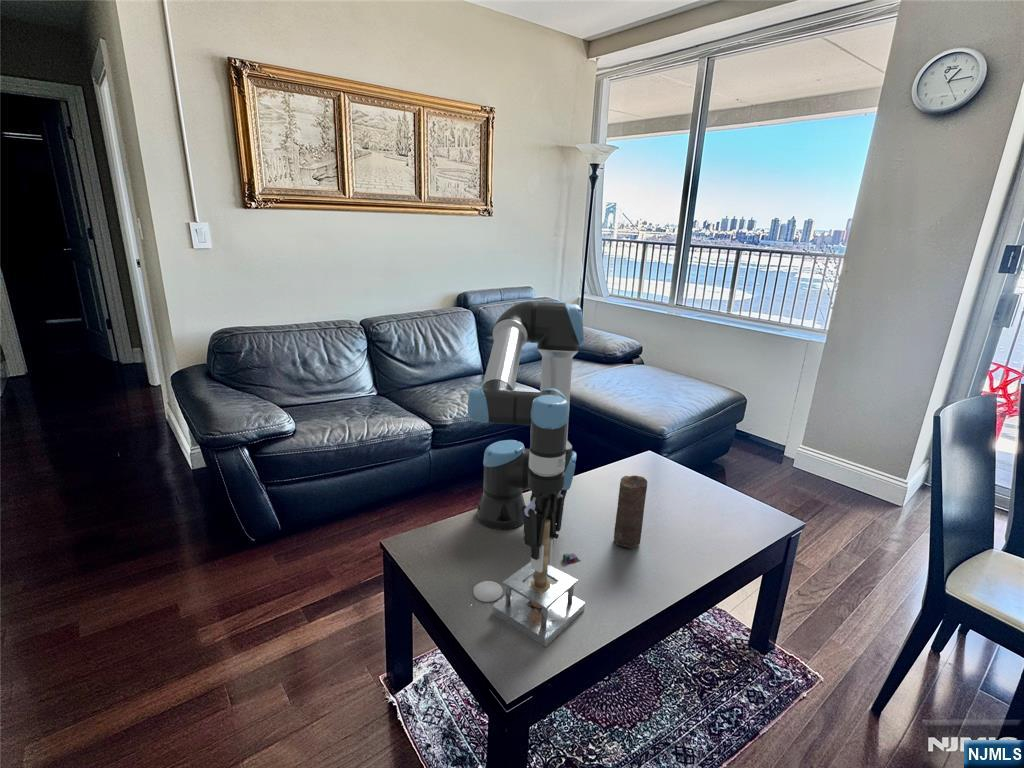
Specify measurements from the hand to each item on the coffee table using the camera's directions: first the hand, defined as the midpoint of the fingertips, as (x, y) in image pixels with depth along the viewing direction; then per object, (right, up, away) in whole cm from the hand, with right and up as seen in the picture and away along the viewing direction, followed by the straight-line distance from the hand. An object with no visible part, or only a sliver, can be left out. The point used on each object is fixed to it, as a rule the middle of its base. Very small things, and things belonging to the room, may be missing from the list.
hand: (541, 565), depth 115 cm
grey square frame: (0, -12, +4) cm, 12 cm away
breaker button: (0, -9, +3) cm, 10 cm away
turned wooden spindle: (0, -5, +2) cm, 6 cm away
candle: (+26, -5, +31) cm, 40 cm away
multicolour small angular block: (+9, -7, +23) cm, 25 cm away
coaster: (-12, -10, +9) cm, 18 cm away
